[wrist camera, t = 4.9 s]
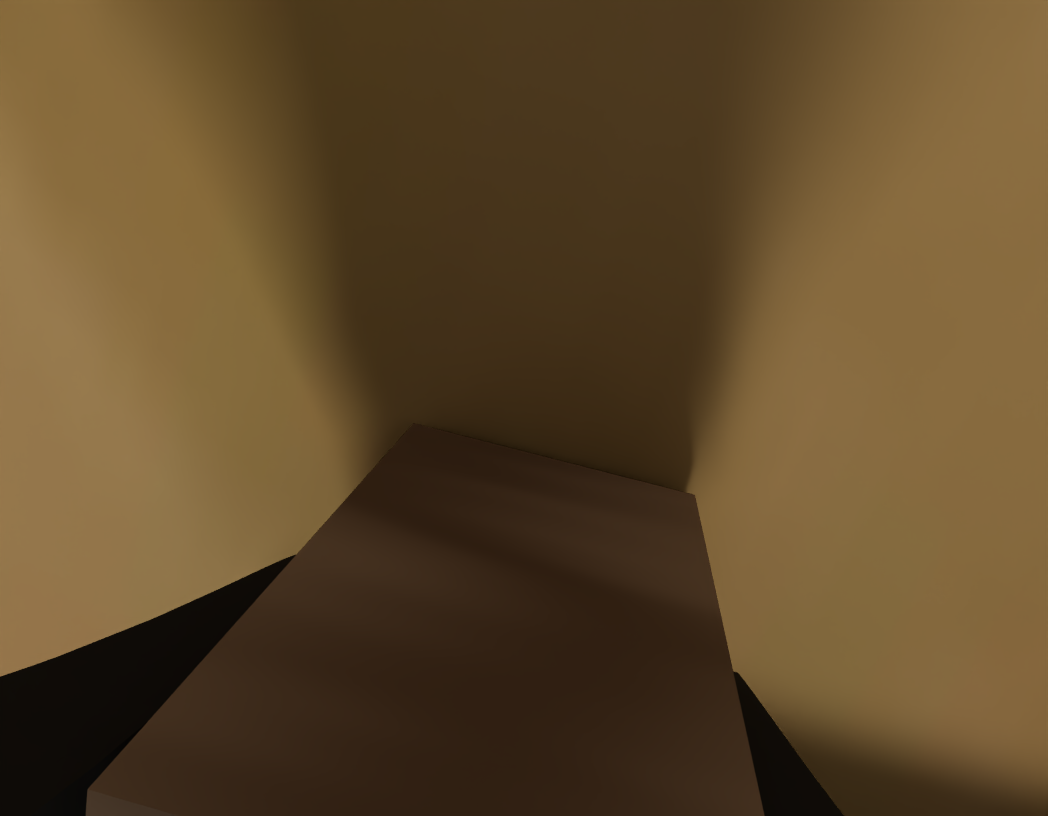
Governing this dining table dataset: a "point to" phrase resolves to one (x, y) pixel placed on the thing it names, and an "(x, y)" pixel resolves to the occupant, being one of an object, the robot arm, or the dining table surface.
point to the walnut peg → (464, 659)
